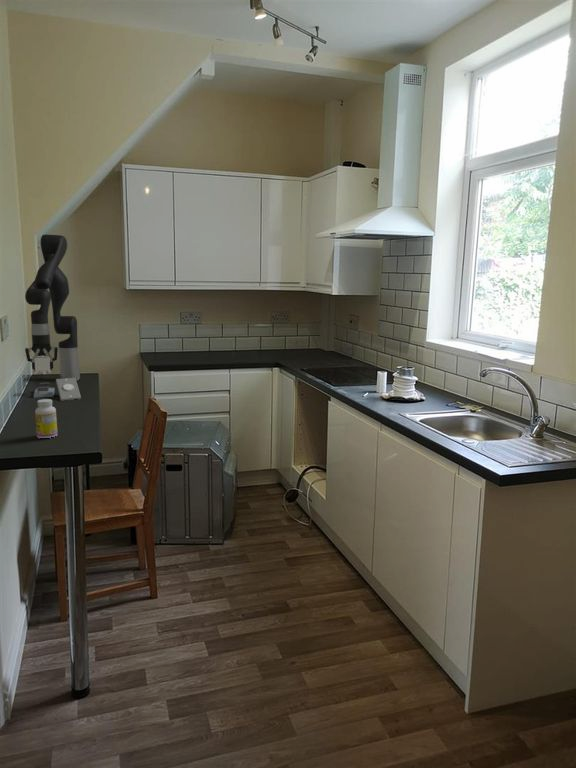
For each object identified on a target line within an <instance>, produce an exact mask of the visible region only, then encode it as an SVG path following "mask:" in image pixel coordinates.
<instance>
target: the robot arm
mask: <svg viewBox="0 0 576 768" xmlns="http://www.w3.org/2000/svg"><path fill="white" fill-rule="evenodd" d="M40 248H41V253H42V258H43V261H44V263H42V265H41V266H40V267H39V268H38V270H37V272H36V275H35V278H34V281H32V283H31V284H30V286H29V287H28V288H27V289H26V291H25V295H24V298H25V302H26V303H27V304H28V305H30V306H31V305H32V306H39V305H40V306H39V309H36V310H35V309H34V310H32V311H31V312H30V318H31V319H30V321H31V323H30V324H31V327H30V328H31V329H30V330H31V332H30V333H31V343H32V344H31V345H32V346H31V347H25V349H24V350H25V357H26V361H27V362H30V363H31V367H32V370H33V371H34V372H35V359H34V358H36V357H48V358H49V359H50V370H51V371H52V370H53V369H54V362H55V361H57V360H58V358H59V373H60V379H64V378H76V381H77V382H78V381H79V379H81V374H80V373H81V372H80V371H81V370H80V361H79V349H78V348H79V346H78V344H79V343H78V320H77V318H76V316H75V315H74V316H73V315H61V310H62V307H63V305H64V304H65V302H66V300H67V299H68V296H69V294H70V287H69V280H68V277H67V276H66V275H65V273H64V272H63V271H62V270H61V268H60V264H61V262H62V260H63V259H64V257H65V255H66V253H67V250H68V241H67V238H66V237H65V236H64V235H61V234H42V235H41V238H40ZM50 305H51V306H52V307H51V308H52V317H53V318H52V319H53V327H54V331H55V334H57V335H69V337H67V338H66V339H64V340H61V341H59V342H58V347H57V346H55V347H54V346H52V345H51V335H50V326H49V309H50ZM31 351H32V352H33V353H34V355H33V357H32V358H31V355H30V353H31ZM51 351H52V352H54V354H53V357H52V356H51V354H50V352H51ZM58 355H59V356H58Z"/></svg>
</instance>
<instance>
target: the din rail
mask: <svg viewBox="0 0 576 768" xmlns="http://www.w3.org/2000/svg"><path fill="white" fill-rule="evenodd" d="M50 387H51V381H50V382H40V383H39V387H37V389H38V391H39V394H48V391H49V388H50Z"/></svg>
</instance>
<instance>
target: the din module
mask: <svg viewBox="0 0 576 768" xmlns="http://www.w3.org/2000/svg"><path fill="white" fill-rule="evenodd" d="M34 359H35V371H34V372H35V373H34V374H36V375H37V374H38V372H48V374H51V371H52V370H50V359H49V358H48V357H47V356H37V357H36V358H34Z"/></svg>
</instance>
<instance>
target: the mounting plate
mask: <svg viewBox="0 0 576 768" xmlns="http://www.w3.org/2000/svg"><path fill="white" fill-rule="evenodd" d="M55 390H56V389H55V387H49V391H48V394H39V391H38V388H35V390H34V393H33V398H35V399H36V398H37V399H38V398H50V397H51V398H53V397H54V395H55Z"/></svg>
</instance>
